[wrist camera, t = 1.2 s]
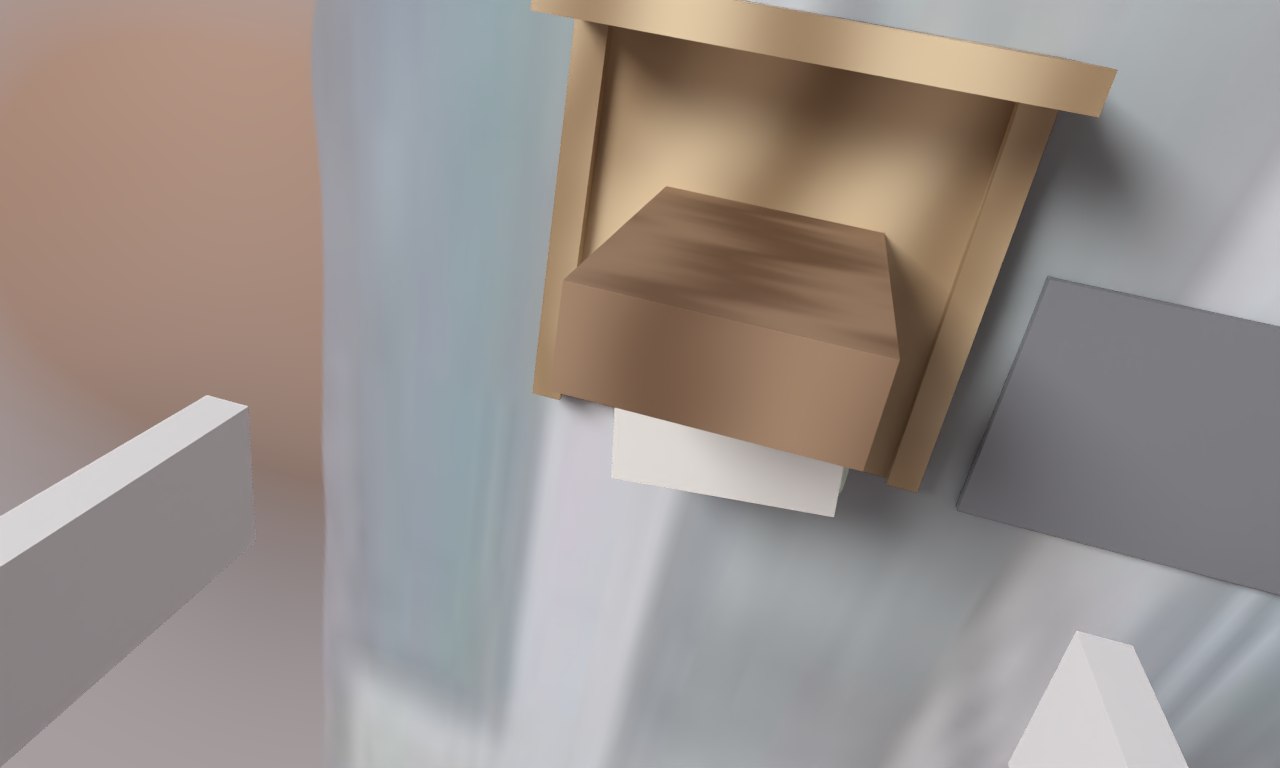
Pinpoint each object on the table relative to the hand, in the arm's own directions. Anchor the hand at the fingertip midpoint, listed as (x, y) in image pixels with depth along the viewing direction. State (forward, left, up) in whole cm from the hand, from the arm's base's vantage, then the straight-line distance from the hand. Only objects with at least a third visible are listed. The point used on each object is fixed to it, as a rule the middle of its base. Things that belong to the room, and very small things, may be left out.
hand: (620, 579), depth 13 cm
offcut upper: (-1, +6, -17) cm, 18 cm away
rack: (0, 0, -21) cm, 21 cm away
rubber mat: (-17, +4, -21) cm, 27 cm away
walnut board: (0, 0, -20) cm, 20 cm away
